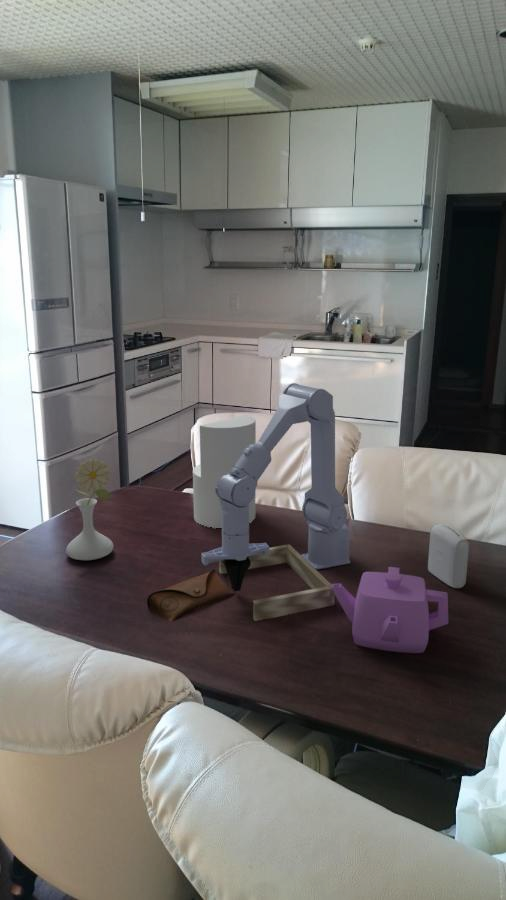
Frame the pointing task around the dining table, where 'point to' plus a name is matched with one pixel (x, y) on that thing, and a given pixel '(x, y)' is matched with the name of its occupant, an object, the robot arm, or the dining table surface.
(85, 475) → the flower in vase
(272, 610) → the open wooden frame
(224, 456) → the cylinder
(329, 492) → the robot arm
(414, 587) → the teakettle
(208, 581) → the sunglasses case
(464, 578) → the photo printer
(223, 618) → the dining table surface
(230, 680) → the dining table surface
